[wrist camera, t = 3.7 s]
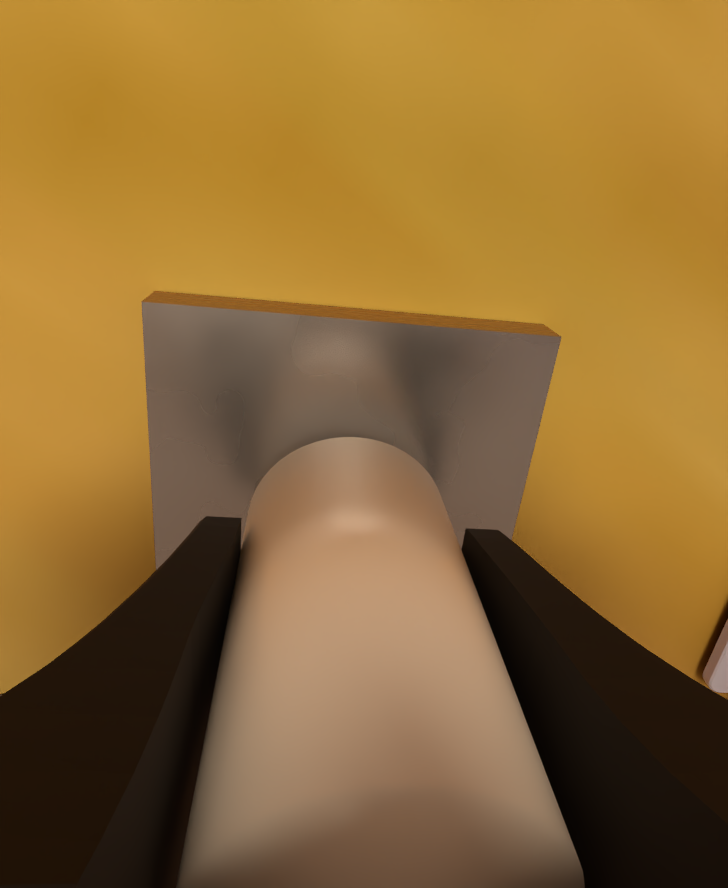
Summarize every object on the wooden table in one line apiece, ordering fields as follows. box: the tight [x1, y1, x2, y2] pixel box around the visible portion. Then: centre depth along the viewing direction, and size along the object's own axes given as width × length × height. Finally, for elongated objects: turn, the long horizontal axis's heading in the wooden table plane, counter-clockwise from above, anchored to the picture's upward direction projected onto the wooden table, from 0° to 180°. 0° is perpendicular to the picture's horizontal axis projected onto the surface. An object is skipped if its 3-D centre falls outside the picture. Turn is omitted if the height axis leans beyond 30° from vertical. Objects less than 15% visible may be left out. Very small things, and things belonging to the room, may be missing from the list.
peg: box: [176, 437, 585, 888], centre depth 9 cm, size 4×4×7 cm
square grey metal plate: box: [142, 291, 561, 570], centre depth 13 cm, size 8×8×1 cm
